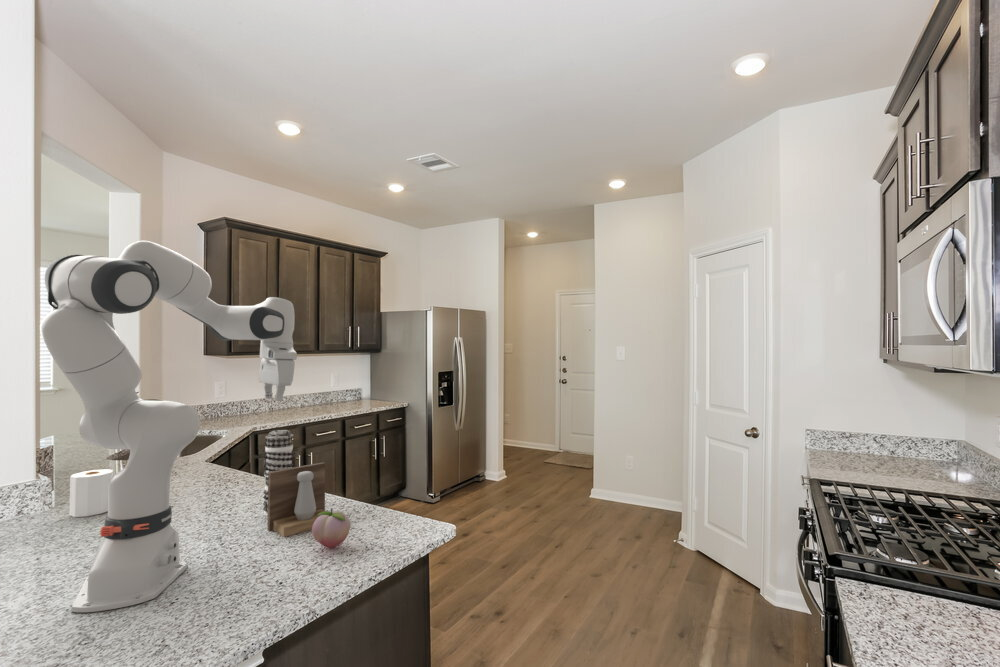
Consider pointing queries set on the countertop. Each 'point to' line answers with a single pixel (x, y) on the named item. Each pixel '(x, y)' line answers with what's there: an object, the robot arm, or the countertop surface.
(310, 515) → the salt shaker
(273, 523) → the cleat board
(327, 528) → the decorative fruit
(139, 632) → the countertop surface
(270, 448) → the decorative candle
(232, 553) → the countertop surface
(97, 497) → the toilet paper
